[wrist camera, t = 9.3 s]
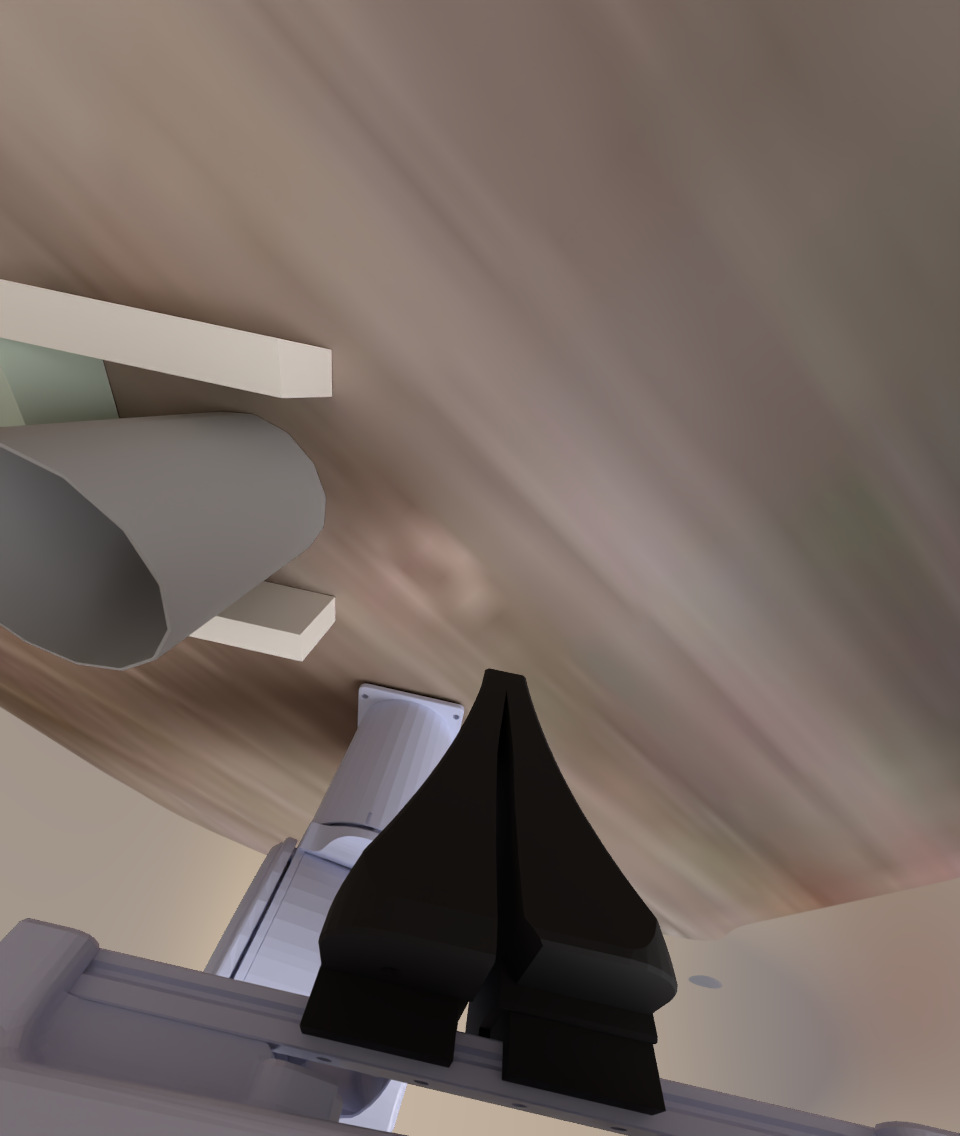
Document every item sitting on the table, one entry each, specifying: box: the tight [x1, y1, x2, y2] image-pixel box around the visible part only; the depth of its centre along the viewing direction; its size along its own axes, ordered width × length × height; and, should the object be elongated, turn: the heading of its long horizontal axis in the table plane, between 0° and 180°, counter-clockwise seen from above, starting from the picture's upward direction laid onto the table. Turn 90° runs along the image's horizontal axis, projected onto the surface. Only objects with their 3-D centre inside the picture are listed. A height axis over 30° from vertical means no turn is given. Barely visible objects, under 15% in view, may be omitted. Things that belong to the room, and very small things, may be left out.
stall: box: [0, 279, 335, 661], centre depth 18 cm, size 16×14×4 cm
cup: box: [0, 411, 326, 671], centre depth 15 cm, size 8×8×10 cm
